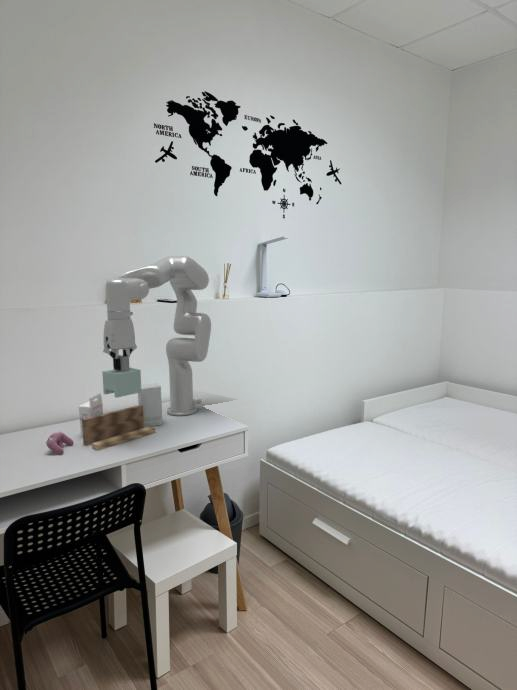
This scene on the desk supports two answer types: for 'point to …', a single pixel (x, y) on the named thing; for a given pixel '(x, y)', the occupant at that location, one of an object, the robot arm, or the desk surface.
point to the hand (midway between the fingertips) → (121, 368)
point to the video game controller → (58, 442)
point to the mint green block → (122, 379)
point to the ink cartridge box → (90, 409)
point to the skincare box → (151, 404)
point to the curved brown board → (114, 427)
